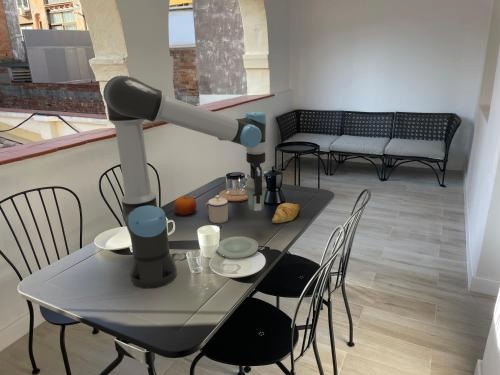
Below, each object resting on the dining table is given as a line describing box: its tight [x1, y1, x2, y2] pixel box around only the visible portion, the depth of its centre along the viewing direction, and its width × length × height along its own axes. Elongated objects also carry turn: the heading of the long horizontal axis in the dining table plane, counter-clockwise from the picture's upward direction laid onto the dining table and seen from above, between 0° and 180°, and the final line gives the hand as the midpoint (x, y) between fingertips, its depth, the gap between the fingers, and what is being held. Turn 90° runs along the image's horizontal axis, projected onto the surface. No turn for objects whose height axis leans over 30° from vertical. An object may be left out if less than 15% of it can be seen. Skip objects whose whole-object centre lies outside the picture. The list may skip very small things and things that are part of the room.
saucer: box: [216, 235, 259, 259], centre depth 141 cm, size 16×16×2 cm
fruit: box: [173, 195, 197, 216], centre depth 175 cm, size 11×10×8 cm
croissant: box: [271, 202, 301, 224], centre depth 169 cm, size 21×10×8 cm, turn 143°
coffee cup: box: [245, 177, 268, 212], centre depth 149 cm, size 8×8×12 cm
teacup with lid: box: [205, 194, 229, 224], centre depth 167 cm, size 12×9×12 cm
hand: (255, 206), depth 151 cm, fingers closed on coffee cup, 8 cm apart
